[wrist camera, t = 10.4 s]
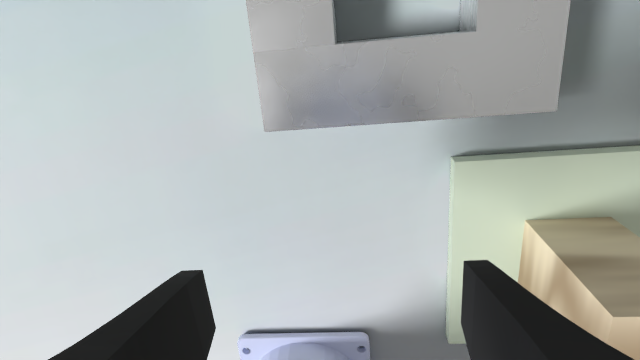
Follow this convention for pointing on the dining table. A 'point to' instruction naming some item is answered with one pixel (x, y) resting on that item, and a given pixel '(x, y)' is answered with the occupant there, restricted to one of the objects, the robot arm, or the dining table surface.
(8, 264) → the dining table surface
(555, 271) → the key peg
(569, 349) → the robot arm
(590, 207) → the pad
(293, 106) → the socket block
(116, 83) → the dining table surface
